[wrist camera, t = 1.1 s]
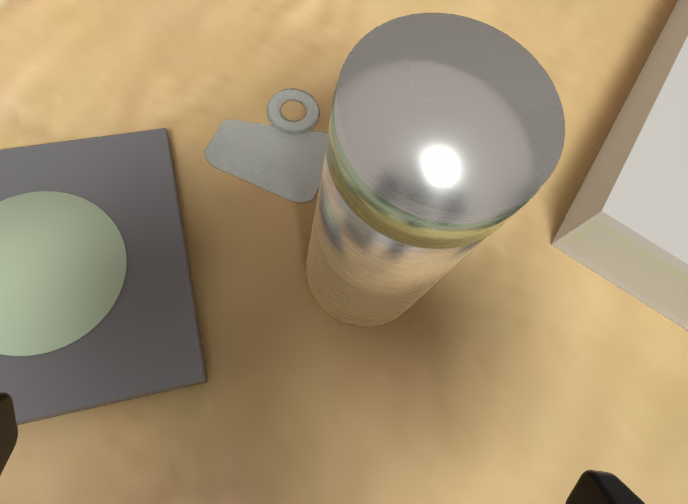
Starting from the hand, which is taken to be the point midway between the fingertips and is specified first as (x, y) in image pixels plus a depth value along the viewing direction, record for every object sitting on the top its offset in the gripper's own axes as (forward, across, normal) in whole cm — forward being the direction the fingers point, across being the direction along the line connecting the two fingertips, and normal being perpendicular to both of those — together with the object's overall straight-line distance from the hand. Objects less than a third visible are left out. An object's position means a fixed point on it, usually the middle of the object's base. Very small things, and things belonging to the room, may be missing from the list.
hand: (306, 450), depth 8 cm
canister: (+15, -2, +5) cm, 16 cm away
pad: (+14, +12, +7) cm, 19 cm away
